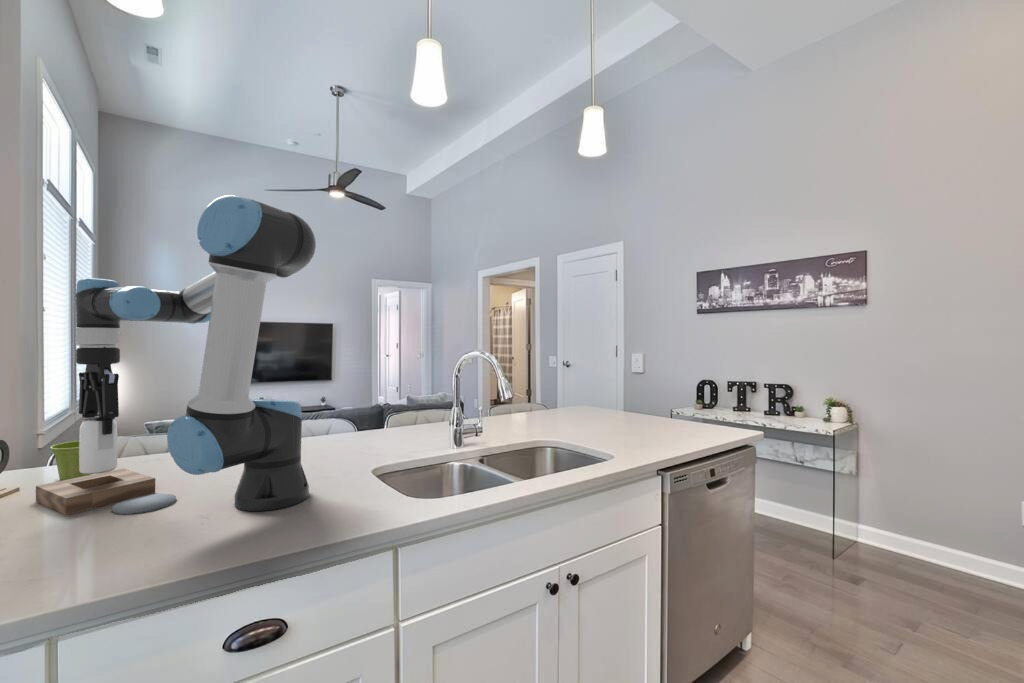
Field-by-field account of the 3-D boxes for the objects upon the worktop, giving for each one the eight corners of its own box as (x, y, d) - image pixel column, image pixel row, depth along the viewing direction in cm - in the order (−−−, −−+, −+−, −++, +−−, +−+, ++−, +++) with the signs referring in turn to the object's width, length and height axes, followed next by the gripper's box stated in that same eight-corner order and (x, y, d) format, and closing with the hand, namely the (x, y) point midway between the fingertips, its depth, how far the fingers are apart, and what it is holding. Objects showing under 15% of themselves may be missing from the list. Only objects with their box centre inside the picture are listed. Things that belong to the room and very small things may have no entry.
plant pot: (75, 482, 116) (75, 448, 116) (39, 482, 116) (39, 448, 116) (109, 472, 125) (109, 440, 125) (75, 471, 125) (75, 439, 125)
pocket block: (155, 492, 109) (155, 478, 109) (65, 515, 95) (65, 498, 95) (123, 482, 116) (123, 468, 116) (35, 501, 102) (35, 485, 102)
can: (94, 475, 102) (94, 421, 102) (71, 473, 103) (71, 420, 103) (124, 467, 108) (124, 416, 108) (102, 466, 109) (102, 415, 109)
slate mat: (186, 501, 103) (186, 498, 103) (126, 518, 94) (127, 515, 94) (160, 493, 109) (160, 490, 109) (102, 508, 99) (102, 505, 99)
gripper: (138, 346, 104) (138, 448, 104) (100, 346, 113) (100, 439, 113) (96, 347, 98) (96, 455, 98) (59, 346, 107) (59, 445, 107)
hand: (98, 446), depth 105 cm, fingers closed on can, 6 cm apart
